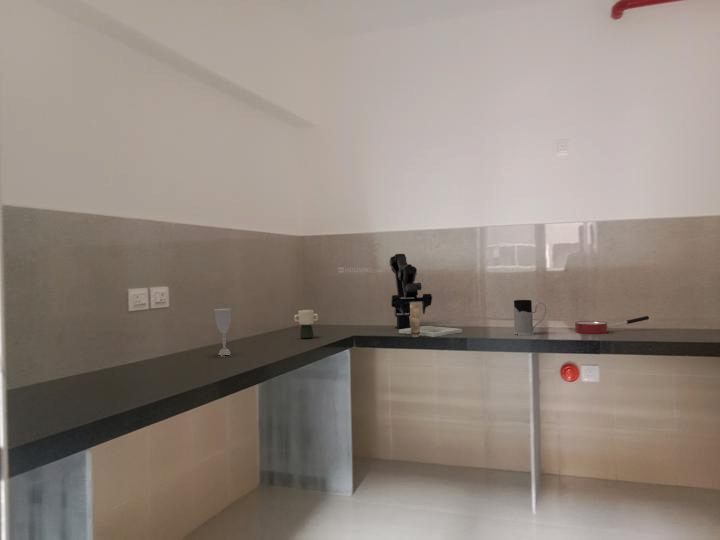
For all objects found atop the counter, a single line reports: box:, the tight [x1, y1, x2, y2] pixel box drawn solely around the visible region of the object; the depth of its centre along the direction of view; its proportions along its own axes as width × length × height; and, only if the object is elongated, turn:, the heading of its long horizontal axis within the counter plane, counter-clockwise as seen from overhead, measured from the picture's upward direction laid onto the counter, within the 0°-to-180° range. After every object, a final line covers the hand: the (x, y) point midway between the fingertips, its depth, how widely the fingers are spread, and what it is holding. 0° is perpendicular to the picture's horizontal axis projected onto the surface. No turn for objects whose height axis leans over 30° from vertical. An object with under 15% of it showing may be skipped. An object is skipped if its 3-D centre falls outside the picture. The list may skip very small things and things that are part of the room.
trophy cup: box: [294, 309, 319, 339], centre depth 248 cm, size 11×7×13 cm, turn 99°
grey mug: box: [513, 299, 547, 336], centre depth 235 cm, size 9×14×15 cm, turn 78°
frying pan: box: [574, 315, 650, 335], centre depth 236 cm, size 32×13×6 cm, turn 97°
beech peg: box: [409, 302, 421, 338], centre depth 240 cm, size 4×4×15 cm
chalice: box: [213, 308, 232, 357], centre depth 208 cm, size 7×7×18 cm
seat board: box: [398, 325, 463, 338], centre depth 253 cm, size 23×19×2 cm
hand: (414, 314), depth 242 cm, fingers open, 9 cm apart
